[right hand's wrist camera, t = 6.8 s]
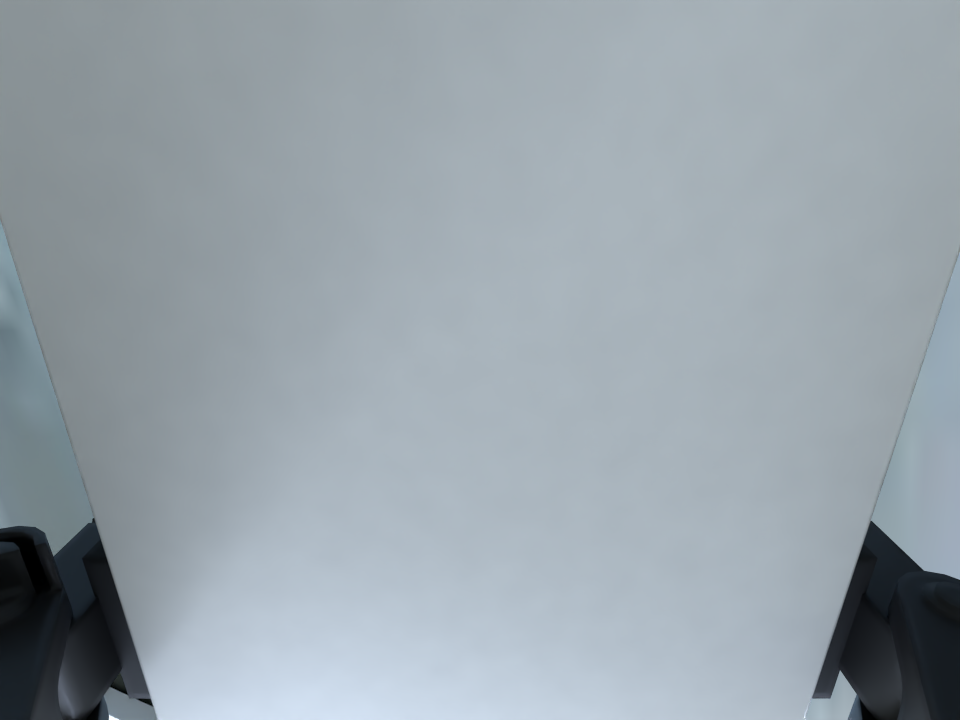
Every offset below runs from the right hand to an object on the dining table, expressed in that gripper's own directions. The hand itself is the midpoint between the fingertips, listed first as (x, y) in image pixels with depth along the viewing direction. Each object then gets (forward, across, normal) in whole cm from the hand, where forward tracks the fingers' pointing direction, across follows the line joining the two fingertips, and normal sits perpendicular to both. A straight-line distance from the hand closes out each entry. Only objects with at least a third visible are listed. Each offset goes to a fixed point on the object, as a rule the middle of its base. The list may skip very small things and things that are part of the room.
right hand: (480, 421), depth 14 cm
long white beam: (+1, 0, -32) cm, 33 cm away
